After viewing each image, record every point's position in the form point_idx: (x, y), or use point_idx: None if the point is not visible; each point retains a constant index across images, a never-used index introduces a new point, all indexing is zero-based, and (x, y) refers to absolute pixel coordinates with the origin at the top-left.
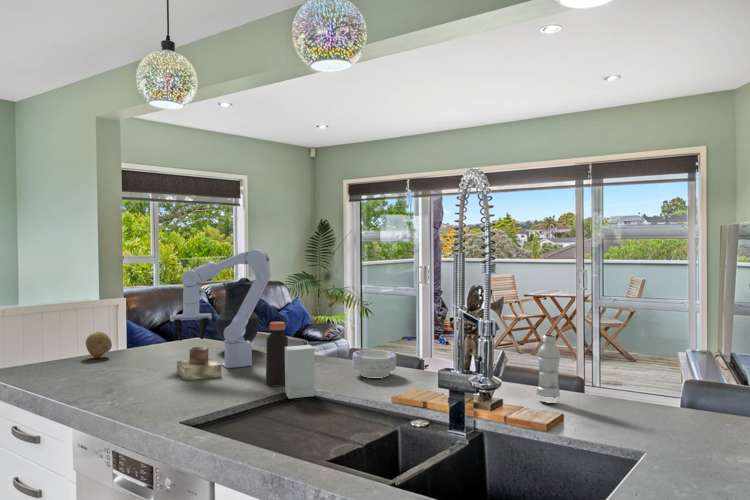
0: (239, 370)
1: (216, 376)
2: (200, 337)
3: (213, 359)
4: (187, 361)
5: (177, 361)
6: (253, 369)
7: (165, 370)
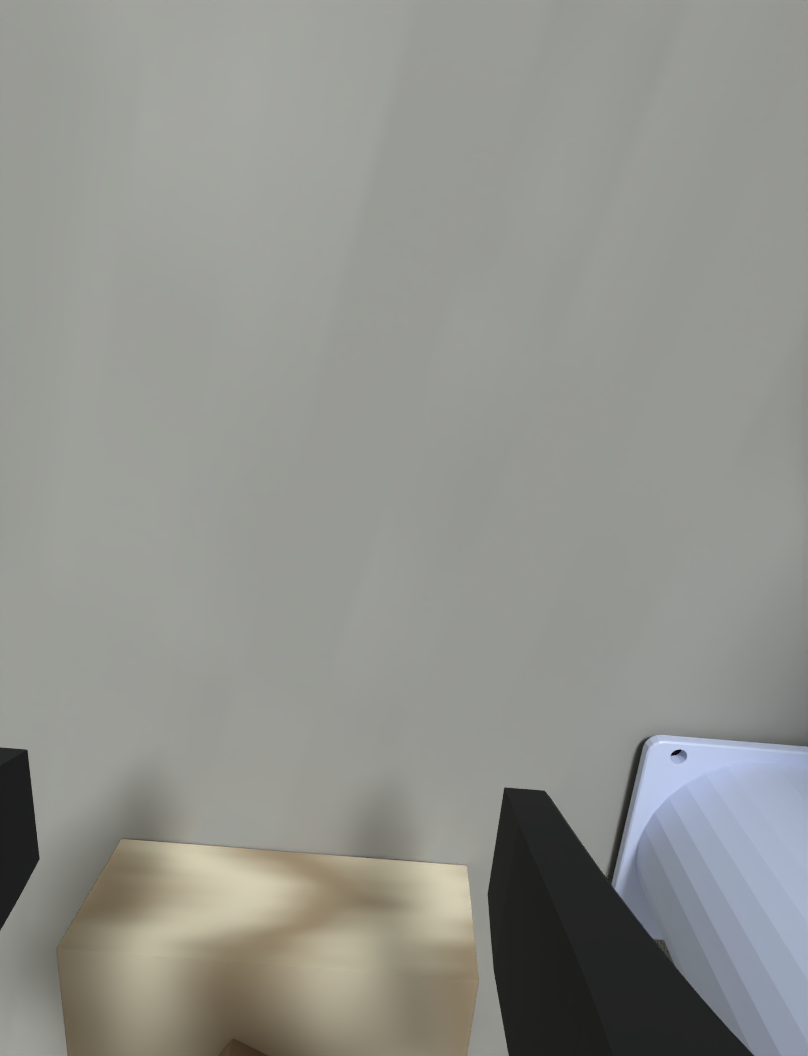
0: None
1: None
2: (500, 866)
3: (463, 1051)
4: (167, 1010)
5: (59, 964)
6: None
7: (27, 700)
